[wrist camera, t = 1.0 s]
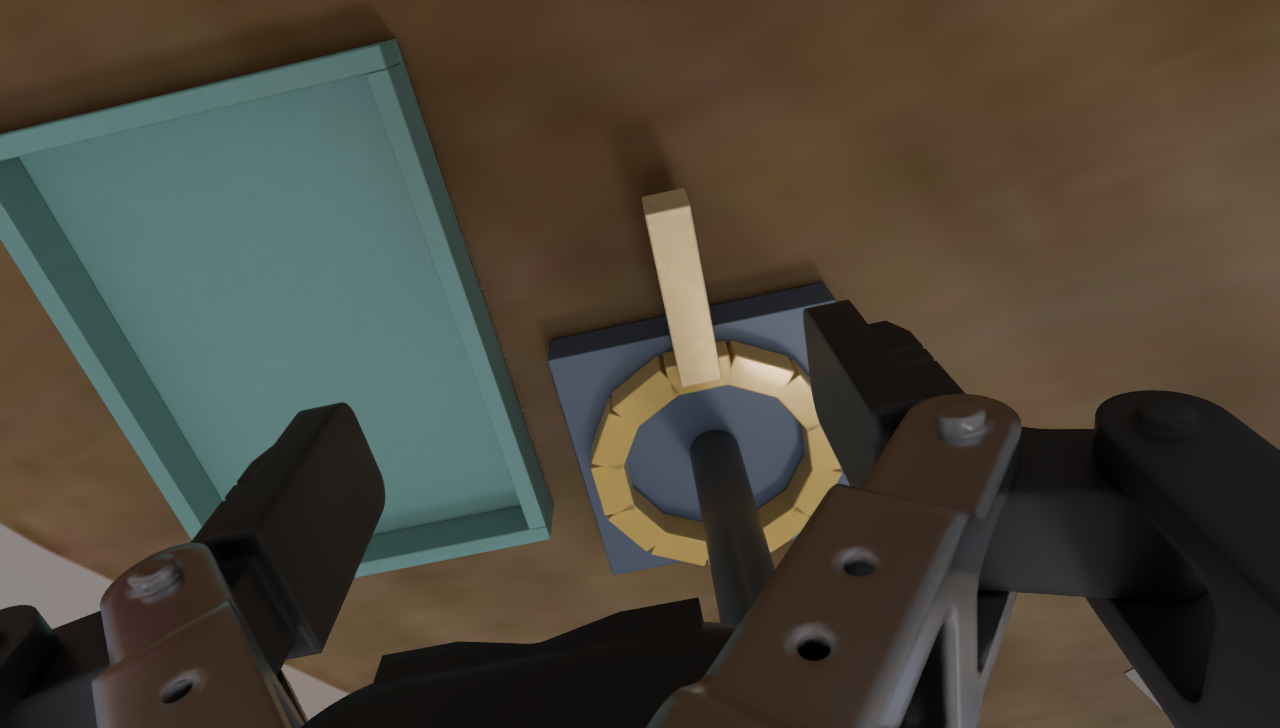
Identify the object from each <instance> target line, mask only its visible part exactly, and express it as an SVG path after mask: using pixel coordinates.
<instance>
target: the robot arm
mask: <svg viewBox="0 0 1280 728" xmlns="http://www.w3.org/2000/svg"><path fill="white" fill-rule="evenodd" d="M803 323H804V332H805V340H806V349H807V357H808V366H809V374H810V382H811V390H812V397H813V402H814V406H815V410H816V414H817V417H818V420H819V423H820V425H821V427H822V429H823V431H824V433H825V435H826V438H827V440H828V442H829V444H830V446H831V448H832V450H833V452H834V454H835V456H836V458H837V460H838V462H839V464H840V466H841V468H842V470H843V472H844V474H845V476H846V478H847V480H848V482H849V484H850V486H849V485H844V484H835V485H833V486H832V487H831V488H830V489H829V490H828V492H827V493H826V494H825V496H824V497H823V499H822V500H821V502H820V503H819V505H818V506H817V508H816V509H815V511H814V512H813V514H812V515H811V517H810V518H809V520H808V521H807V523H806V524H805V526H804V527H803V529H802V530H801V532H800V533H799V535H798V536H797V538H796V539H795V541H794V542H793V544H792V545H791V547H790V548H789V550H788V551H787V553H786V554H785V556H784V557H783V559H782V560H781V562H780V563H779V565H778V566H777V568H776V569H775V571H774V572H773V574H772V575H771V577H770V578H769V580H768V581H767V583H766V584H765V586H764V587H763V589H762V590H761V592H760V593H759V595H758V596H757V598H756V599H755V601H754V602H753V604H752V605H751V607H750V608H749V610H748V611H747V613H746V614H745V616H744V617H743V619H742V620H741V622H740V623H739V625H738V626H736V625H729V624H722V623H712V622H704V620H703V616H702V612H701V607H700V603H699V599H698V598H693V599H688V600H682V601H677V602H671V603H666V604H660V605H655V606H649V607H644V608H639V609H633V610H628V611H622V612H618V613H616V614H613V615H610V616H608V617H605V618H603V619H600V620H598V621H595V622H592V623H590V624H587V625H585V626H582V627H579V628H577V629H574V630H572V631H569V632H567V633H564V634H561V635H559V636H556V637H554V638H551V639H549V640H546V641H543V642H540V643H535V644H516V643H486V642H454V643H448V644H443V645H437V646H432V647H427V648H421V649H416V650H410V651H405V652H399V653H394V654H388V655H383V656H382V659H381V662H380V665H379V667H378V670H377V673H376V676H375V679H374V682H373V684H370V685H368V686H365V687H363V688H361V689H359V690H357V691H355V692H353V693H351V694H349V695H347V696H346V697H344V698H342V699H340V700H339V701H337V702H335V703H334V704H332V705H330V706H329V707H327V708H326V709H324V710H323V711H321V712H320V713H318V714H317V715H316V716H314V717H313V718H311V719H310V720H309V721H308V719H307V717H306V715H305V713H304V711H303V710H302V707H301V705H300V704H299V701H298V699H297V697H296V695H295V693H294V691H293V689H292V687H291V685H290V683H289V681H288V680H287V678H286V676H285V675H284V673H283V671H282V670H281V668H282V666H283V664H284V662H285V660H287V659H292V658H297V657H303V656H308V655H314V654H319V653H322V650H323V648H324V646H325V644H326V641H327V639H328V637H329V634H330V632H331V630H332V627H333V625H334V623H335V620H336V618H337V616H338V614H339V611H340V609H341V607H342V604H343V602H344V600H345V597H346V595H347V593H348V591H349V588H350V586H351V584H352V581H353V579H354V577H355V574H356V572H357V570H358V568H359V565H360V563H361V561H362V558H363V556H364V554H365V551H366V549H367V547H368V544H369V542H370V540H371V538H372V535H373V533H374V531H375V528H376V526H377V524H378V521H379V519H380V517H381V515H382V512H383V510H384V506H385V485H384V481H383V477H382V474H381V472H380V470H379V467H378V465H377V463H376V461H375V458H374V456H373V454H372V451H371V449H370V447H369V445H368V442H367V440H366V438H365V436H364V433H363V431H362V429H361V426H360V424H359V422H358V420H357V417H356V415H355V413H354V411H353V410H352V408H351V407H350V406H349V405H348V404H346V403H344V402H340V403H335V404H331V405H326V406H321V407H316V408H311V409H306V410H301V411H299V412H298V413H297V414H296V415H295V417H294V418H293V420H292V421H291V422H290V424H289V425H288V426H287V428H286V429H285V430H284V432H283V433H282V434H281V436H280V437H279V438H278V440H277V441H276V442H275V444H274V445H273V446H271V447H270V448H269V449H267V450H266V451H265V452H264V453H262V454H261V455H260V456H259V457H257V458H256V459H255V460H254V461H252V462H251V463H250V465H249V466H248V467H247V469H246V470H245V471H244V473H243V474H242V475H241V477H240V478H239V479H238V480H237V485H234V486H233V487H232V488H231V490H230V491H229V492H228V494H227V495H226V496H225V501H222V502H221V503H220V504H219V505H218V507H217V508H216V509H215V511H214V512H213V513H212V515H211V516H210V517H209V519H208V520H207V521H206V523H205V524H204V525H203V527H202V528H201V529H200V530H199V532H198V533H197V534H196V536H195V537H194V538H193V540H192V541H191V542H190V543H186V544H181V545H176V546H173V547H170V548H167V549H165V550H162V551H159V552H157V553H155V554H153V555H151V556H149V557H147V558H145V559H144V560H142V561H140V562H139V563H137V564H135V565H134V566H132V567H131V568H130V569H128V570H127V571H125V572H124V573H123V574H122V575H121V576H119V577H118V578H117V579H116V580H115V581H114V582H113V583H112V584H111V585H110V586H109V588H108V589H107V590H106V591H105V593H104V595H103V597H102V599H101V602H100V609H101V611H99V612H96V613H93V614H91V615H88V616H86V617H83V618H80V619H78V620H75V621H73V622H70V623H68V624H65V625H62V626H60V627H57V628H55V629H51V628H50V626H49V625H48V624H47V622H46V621H45V620H44V618H43V617H42V616H41V615H40V613H39V612H38V611H37V609H36V608H35V607H32V606H29V605H18V606H12V607H8V608H5V609H2V610H0V728H978V726H979V718H980V712H981V707H982V703H983V699H984V695H985V692H986V689H987V686H988V683H989V680H990V676H991V673H992V670H993V667H994V664H995V661H996V658H997V655H998V652H999V649H1000V646H1001V642H1002V639H1003V636H1004V633H1005V630H1006V627H1007V624H1008V621H1009V618H1010V615H1011V611H1012V608H1013V605H1014V602H1015V599H1016V595H1017V592H1022V593H1037V594H1052V595H1067V596H1081V597H1086V599H1087V601H1088V602H1089V604H1090V605H1091V607H1092V608H1093V610H1094V611H1095V613H1096V614H1097V615H1098V617H1099V618H1100V620H1101V621H1102V623H1103V624H1104V626H1105V627H1106V628H1107V630H1108V631H1109V633H1110V634H1111V636H1112V637H1113V639H1114V640H1115V641H1116V643H1117V644H1118V646H1119V647H1120V649H1121V650H1122V652H1123V653H1124V654H1125V656H1126V657H1127V659H1128V660H1129V662H1130V663H1131V664H1132V666H1133V667H1134V669H1135V670H1136V672H1137V673H1138V675H1139V676H1140V677H1141V679H1142V680H1143V682H1144V683H1145V685H1146V686H1147V688H1148V689H1149V690H1150V692H1151V693H1152V695H1153V696H1154V698H1155V699H1156V701H1157V702H1158V703H1159V705H1160V706H1161V708H1162V709H1163V711H1164V712H1165V714H1166V715H1167V716H1168V718H1169V719H1170V721H1171V722H1172V724H1173V725H1174V727H1175V728H1280V450H1278V449H1277V448H1276V447H1274V446H1273V445H1272V444H1270V443H1269V442H1268V441H1266V440H1265V439H1264V438H1262V437H1261V436H1260V435H1258V434H1257V433H1256V432H1254V431H1253V430H1252V429H1250V428H1249V427H1248V426H1246V425H1245V424H1244V423H1243V422H1241V421H1240V420H1239V419H1237V418H1236V417H1235V416H1233V415H1232V414H1231V413H1229V412H1228V411H1227V410H1225V409H1223V408H1222V407H1220V406H1219V405H1216V404H1214V403H1212V402H1210V401H1208V400H1205V399H1202V398H1199V397H1196V396H1192V395H1188V394H1183V393H1178V392H1170V391H1157V390H1148V391H1135V392H1128V393H1123V394H1120V395H1117V396H1114V397H1112V398H1109V399H1107V400H1106V401H1104V402H1103V403H1102V404H1101V405H1100V406H1099V407H1098V409H1097V411H1096V414H1095V427H1094V429H1036V428H1027V427H1021V426H1022V425H1021V420H1020V418H1019V416H1018V414H1017V413H1016V412H1015V411H1014V410H1013V409H1012V408H1010V407H1009V406H1008V405H1006V404H1004V403H1002V402H1000V401H997V400H995V399H992V398H988V397H984V396H979V395H971V394H965V393H964V392H963V390H962V389H961V388H960V387H959V386H958V385H957V384H956V383H955V381H954V380H953V379H952V378H951V377H950V376H949V375H948V374H947V372H946V371H945V370H944V369H943V368H942V367H941V366H940V365H939V363H938V362H937V361H934V358H933V357H932V356H931V354H930V353H929V352H928V351H927V350H926V349H923V346H922V344H921V343H920V342H919V341H918V340H917V339H916V338H915V337H914V335H913V334H912V333H911V332H910V331H908V330H906V329H904V328H901V327H899V326H897V325H894V324H892V323H890V322H887V321H882V322H877V323H872V324H867V322H866V321H865V320H864V318H863V317H862V316H861V315H860V313H859V312H858V311H857V310H856V308H855V307H854V306H853V304H852V303H851V302H850V301H849V300H844V301H839V302H834V303H829V304H824V305H819V306H814V307H809V308H805V309H804V311H803Z"/></svg>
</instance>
